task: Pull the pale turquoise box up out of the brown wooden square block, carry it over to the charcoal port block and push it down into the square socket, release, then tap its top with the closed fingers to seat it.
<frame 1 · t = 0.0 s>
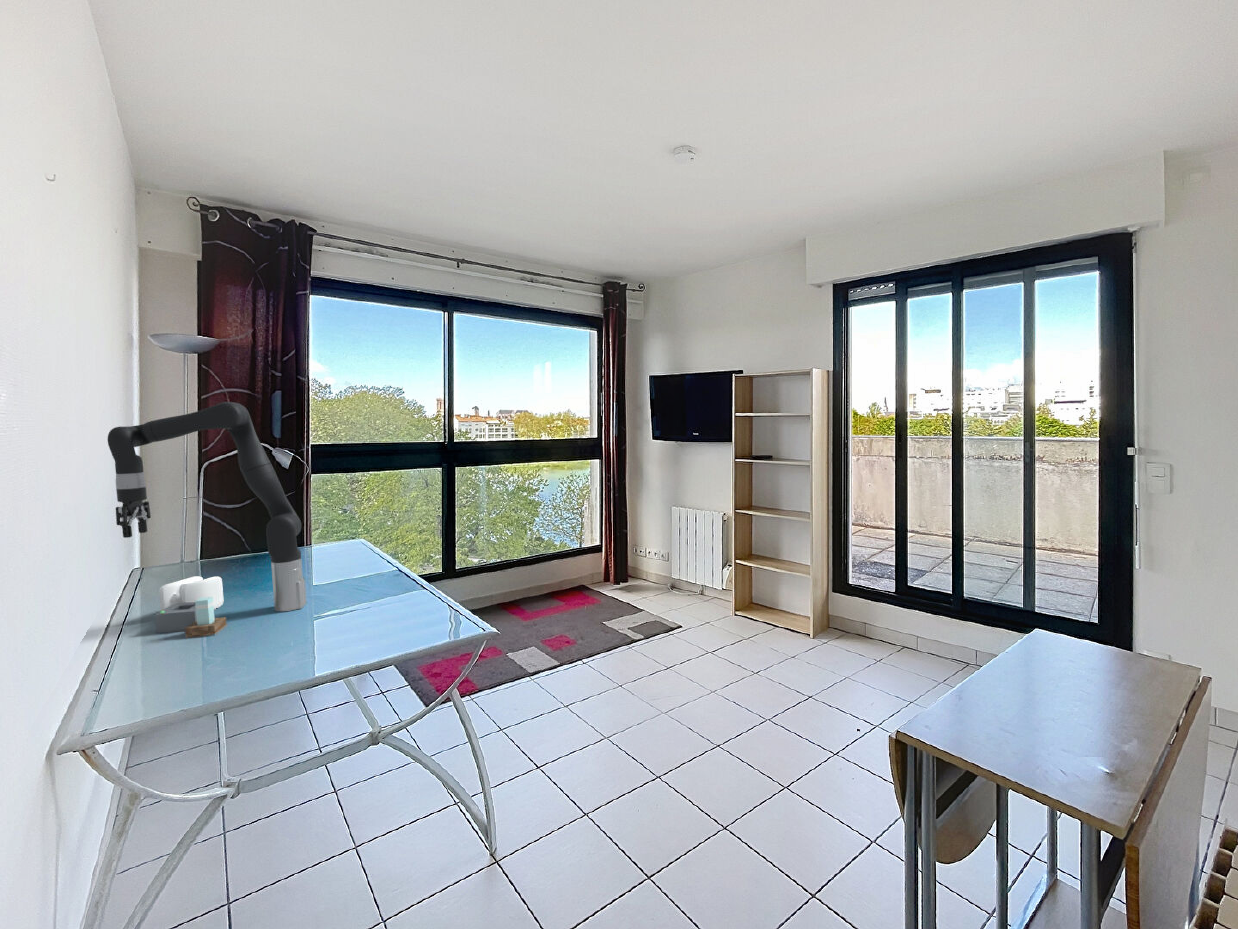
hand: (135, 534, 193), 29 cm above the table, fingers open, 8 cm apart
pale turquoise box: (206, 630, 182), point 1 cm above the table, touching brown wooden square block
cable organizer: (193, 613, 202), on the table
port: (185, 625, 189), on the table
brown wooden square block: (206, 631, 182), on the table
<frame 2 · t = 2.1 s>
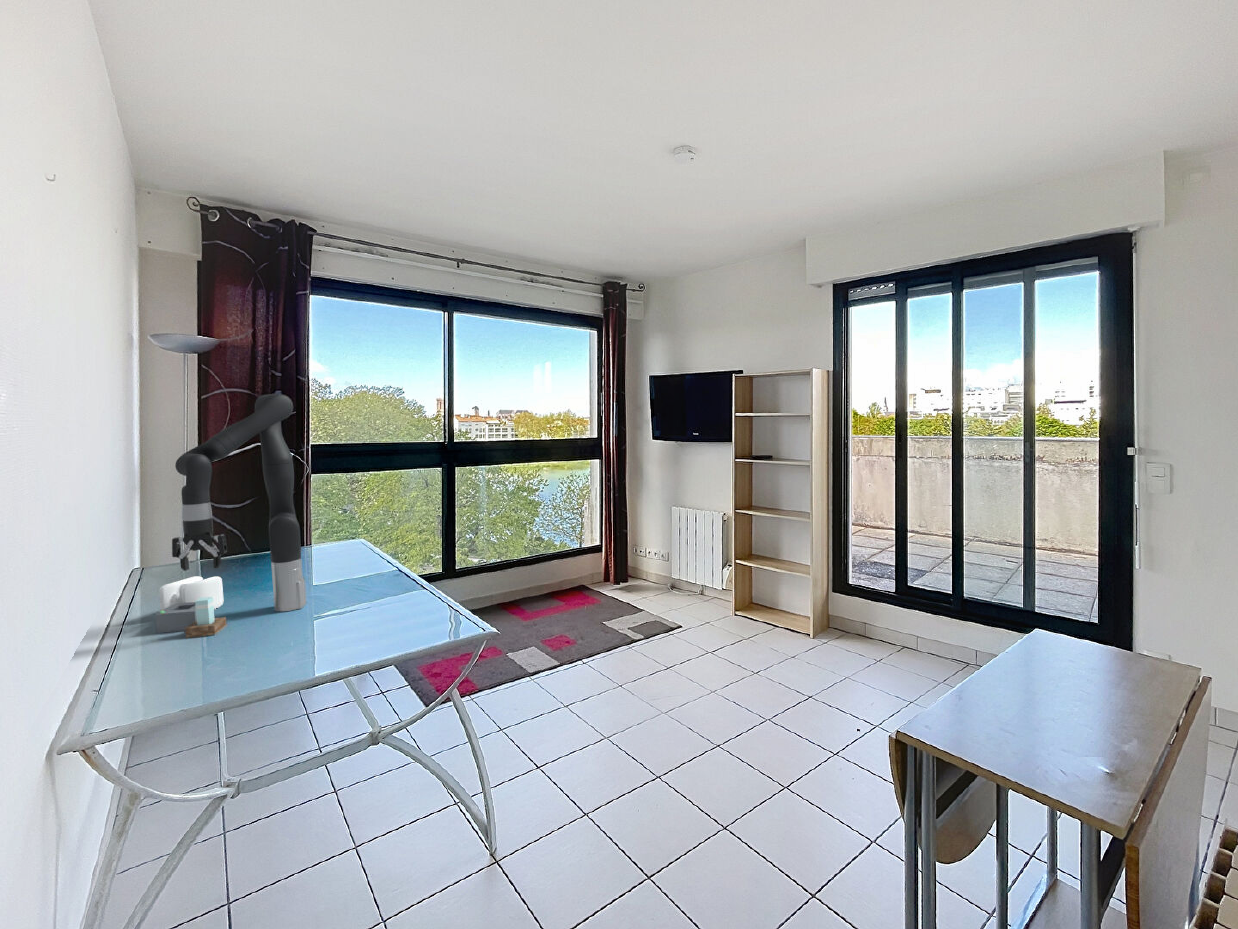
hand: (201, 569, 181), 20 cm above the table, fingers open, 8 cm apart
nothing on the table moved.
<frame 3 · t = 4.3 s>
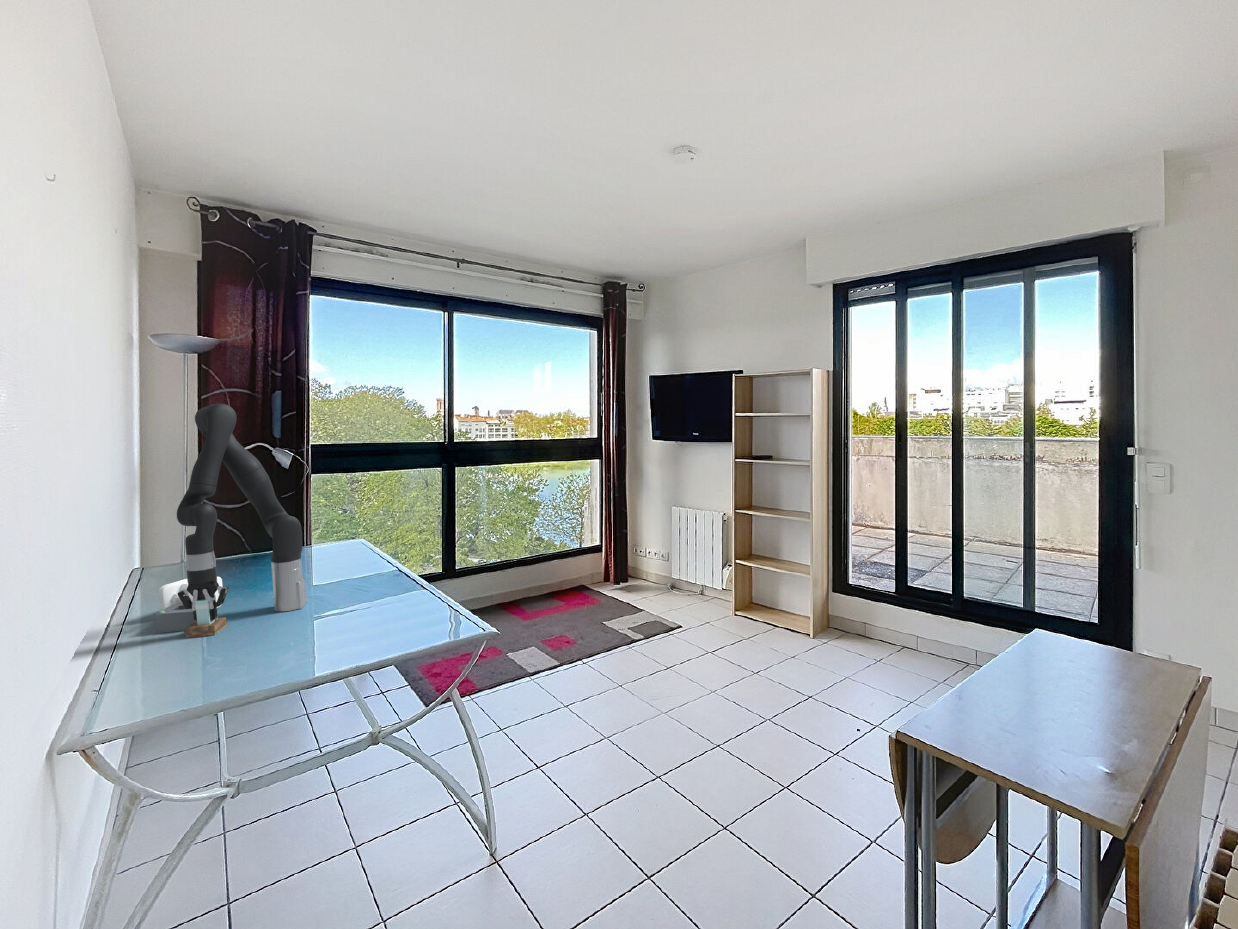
hand: (205, 620, 182), 4 cm above the table, fingers closed on pale turquoise box, 3 cm apart
pale turquoise box: (206, 630, 182), point 1 cm above the table, touching gripper, brown wooden square block
everything else where it was.
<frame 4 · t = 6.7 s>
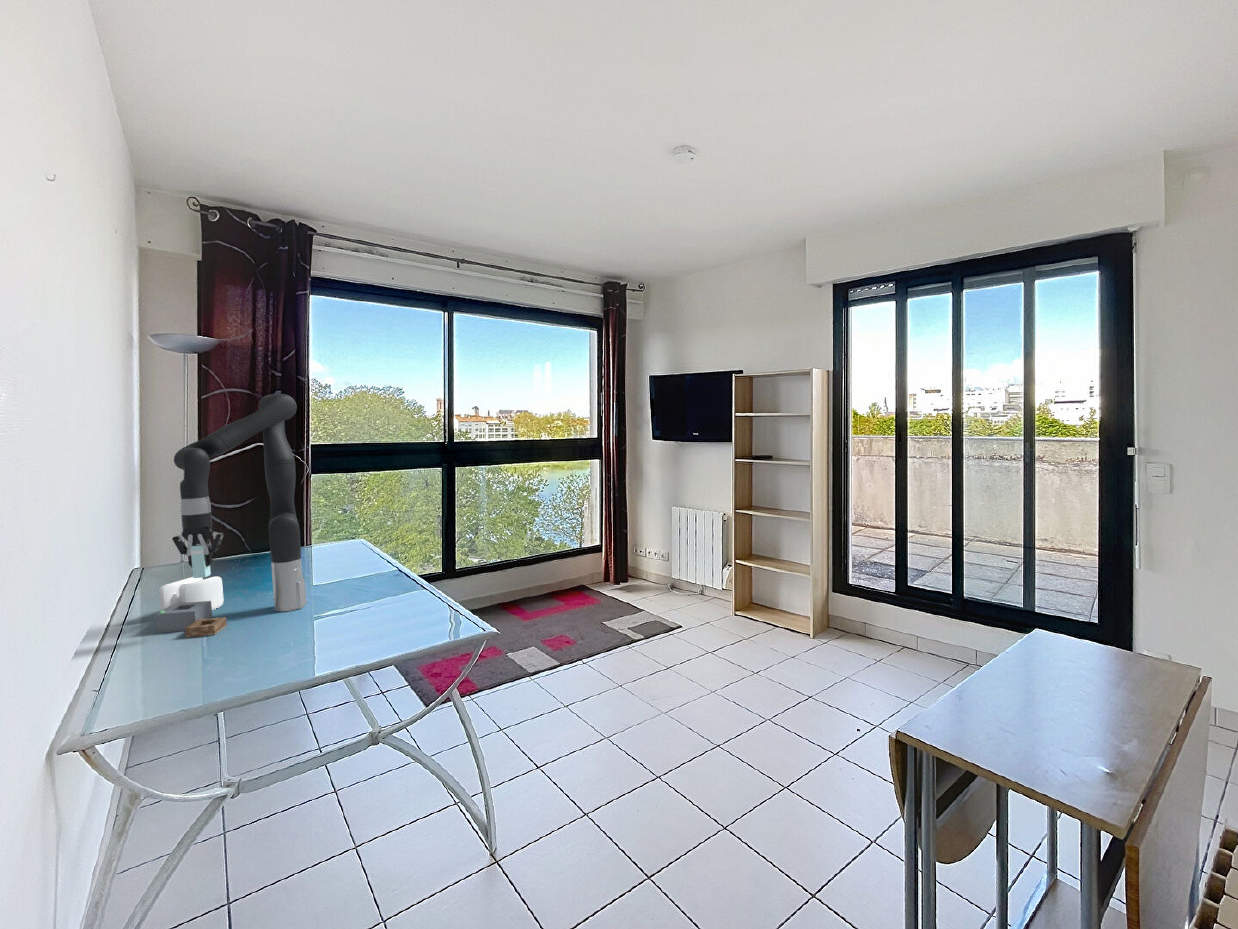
hand: (201, 566, 181), 21 cm above the table, fingers closed on pale turquoise box, 3 cm apart
pale turquoise box: (202, 576, 181), point 18 cm above the table, touching gripper
everything else where it was.
when the fingers open (7 cm above the table, at t = 9.6 s): pale turquoise box drops 2 cm, resting on port.
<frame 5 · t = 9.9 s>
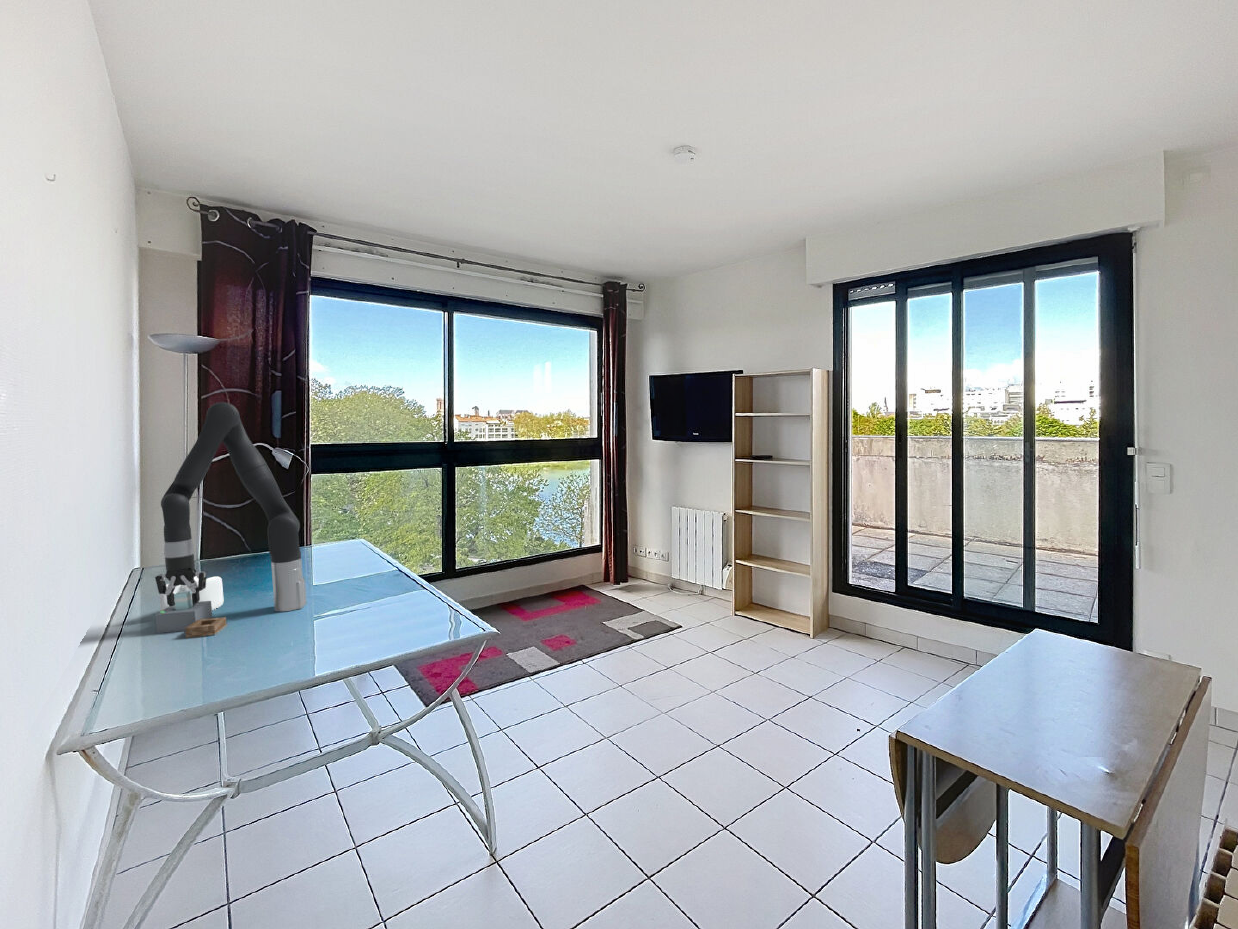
hand: (183, 604, 188), 7 cm above the table, fingers open, 6 cm apart
pale turquoise box: (185, 622, 189), point 1 cm above the table, touching port
everything else where it was.
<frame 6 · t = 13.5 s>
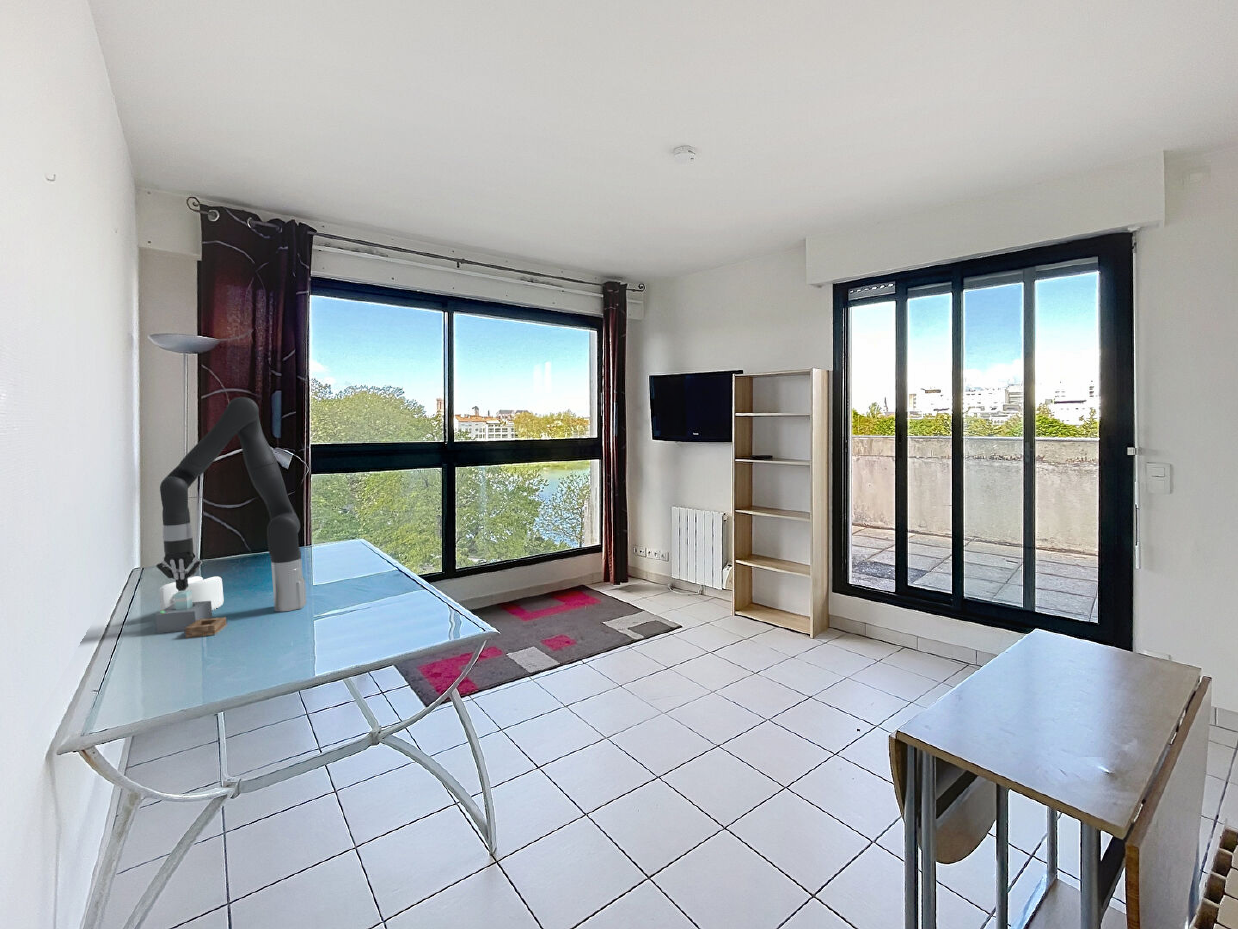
hand: (182, 590, 188), 12 cm above the table, fingers closed
nothing on the table moved.
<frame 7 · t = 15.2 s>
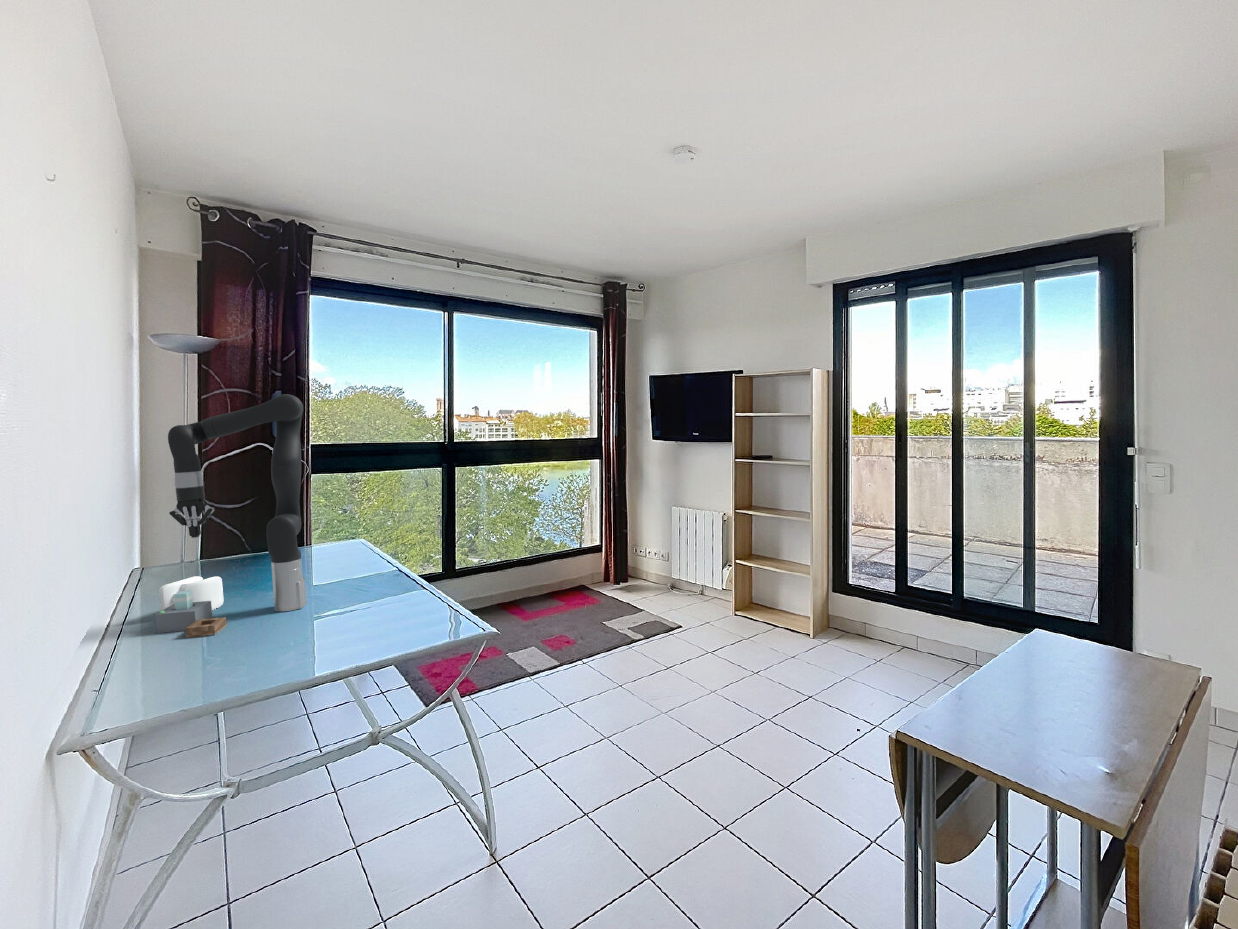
hand: (195, 537, 192), 28 cm above the table, fingers closed
nothing on the table moved.
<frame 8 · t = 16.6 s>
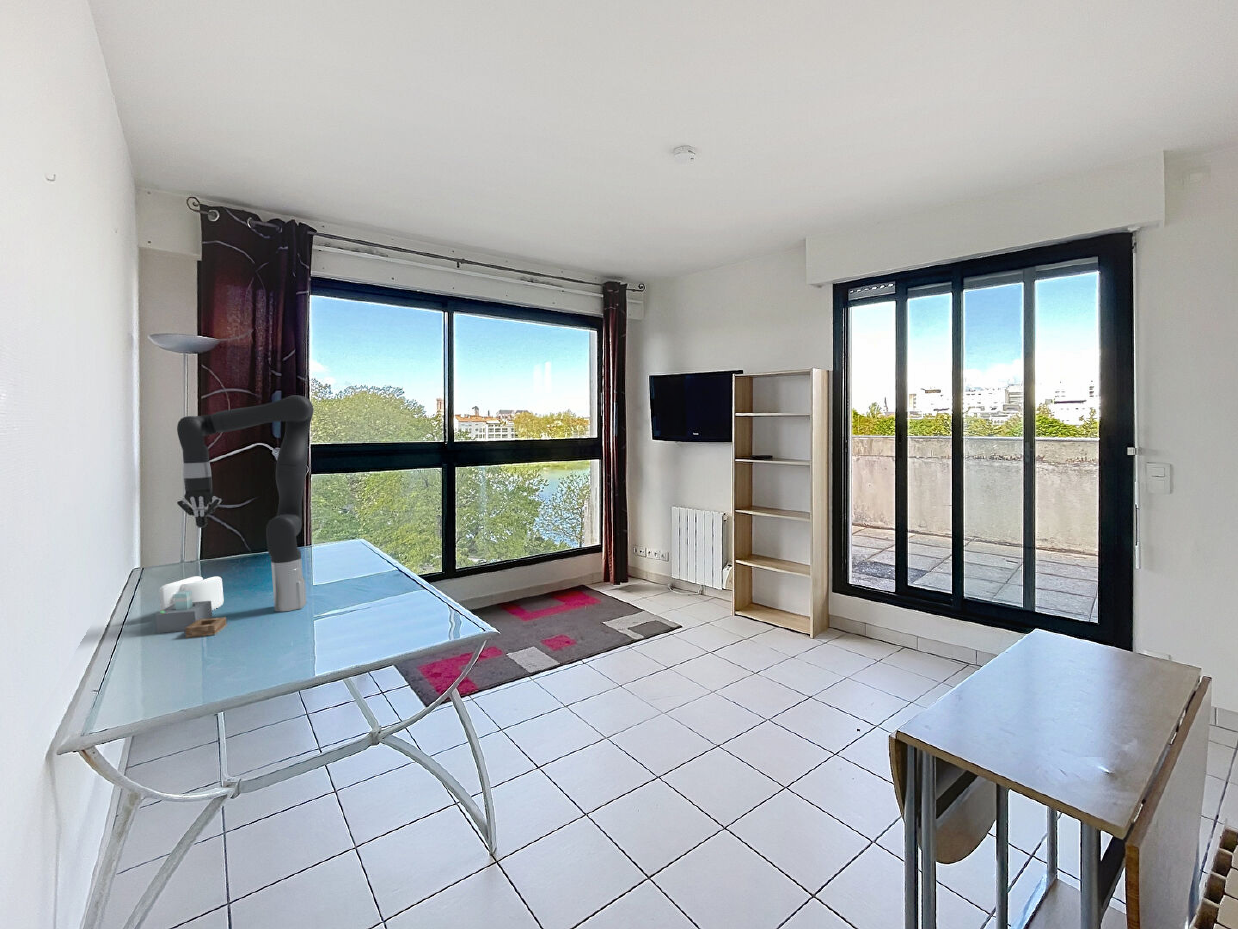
hand: (202, 527, 194), 31 cm above the table, fingers closed
nothing on the table moved.
at the end: pale turquoise box 0.0 cm off-centre on the port, point 1.0 cm above the port's base; pale turquoise box tilted 0°; the gripper is holding nothing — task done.
